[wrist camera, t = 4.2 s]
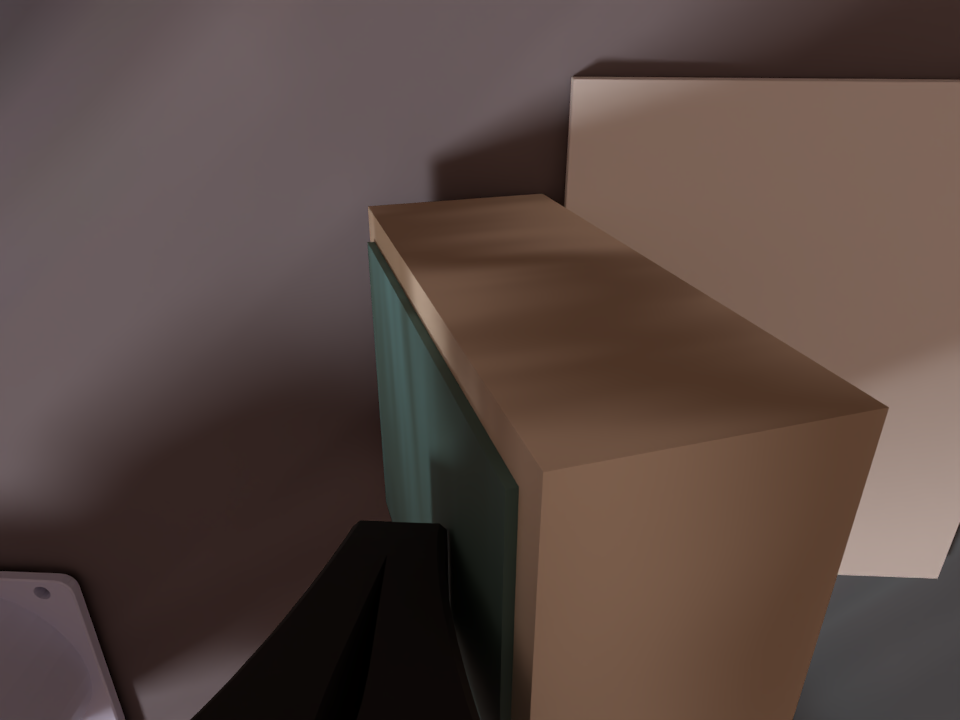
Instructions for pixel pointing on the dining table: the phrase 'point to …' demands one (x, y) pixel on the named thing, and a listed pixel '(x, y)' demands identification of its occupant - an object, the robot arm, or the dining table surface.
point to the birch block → (608, 467)
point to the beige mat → (808, 250)
